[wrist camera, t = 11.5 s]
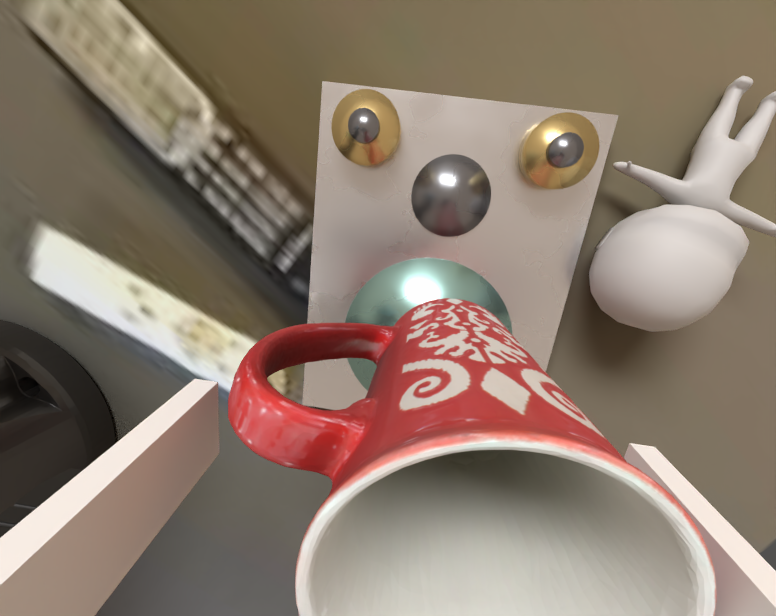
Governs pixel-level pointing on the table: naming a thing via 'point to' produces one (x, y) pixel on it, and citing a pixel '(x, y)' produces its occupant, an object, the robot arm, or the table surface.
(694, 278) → the figurine
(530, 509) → the mug
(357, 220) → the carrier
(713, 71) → the table surface
